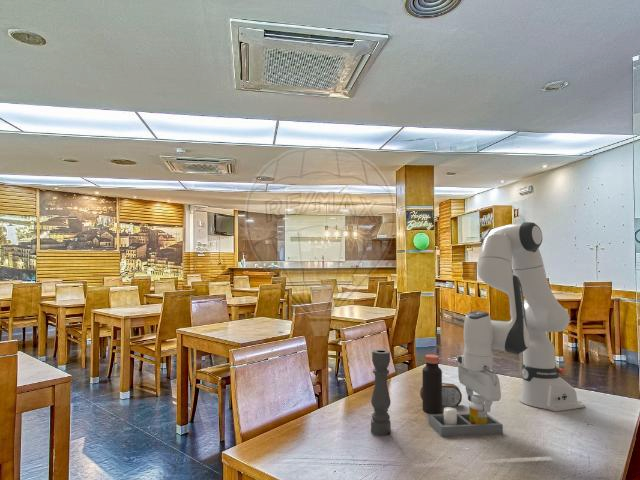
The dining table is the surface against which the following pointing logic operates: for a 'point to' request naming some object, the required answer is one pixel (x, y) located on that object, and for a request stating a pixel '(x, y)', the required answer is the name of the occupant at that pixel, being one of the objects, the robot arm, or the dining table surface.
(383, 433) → the candle holder
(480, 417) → the supplement bottle
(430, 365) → the vinegar
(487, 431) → the caddy
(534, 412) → the dining table surface
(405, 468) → the dining table surface
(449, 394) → the tin
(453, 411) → the shaker
